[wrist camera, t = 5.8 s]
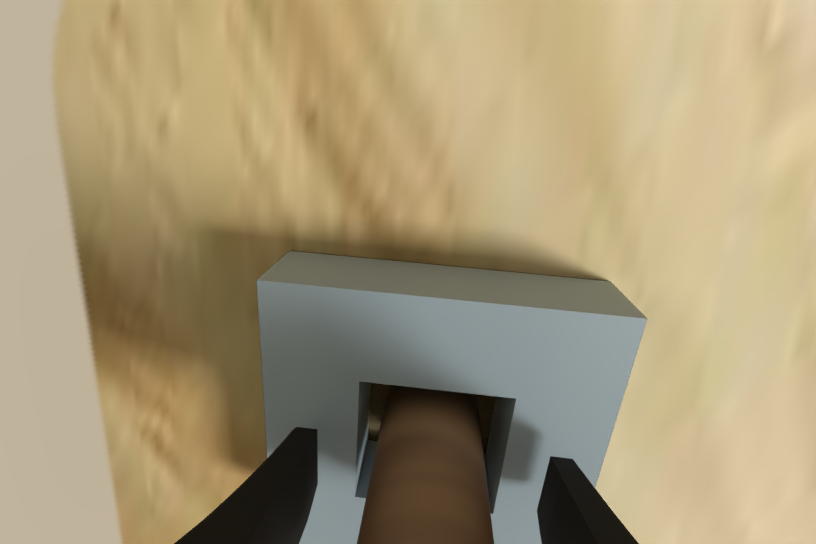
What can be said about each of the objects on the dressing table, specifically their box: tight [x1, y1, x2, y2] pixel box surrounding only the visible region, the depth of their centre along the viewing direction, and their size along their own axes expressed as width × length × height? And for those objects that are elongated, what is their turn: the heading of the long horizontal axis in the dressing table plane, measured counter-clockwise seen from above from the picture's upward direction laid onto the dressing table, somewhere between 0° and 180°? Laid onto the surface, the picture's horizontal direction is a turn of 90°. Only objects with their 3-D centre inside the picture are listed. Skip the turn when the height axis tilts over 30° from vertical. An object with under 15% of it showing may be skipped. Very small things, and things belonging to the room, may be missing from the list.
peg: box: [357, 385, 494, 544], centre depth 12 cm, size 3×3×7 cm
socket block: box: [257, 251, 647, 544], centre depth 14 cm, size 10×10×2 cm
